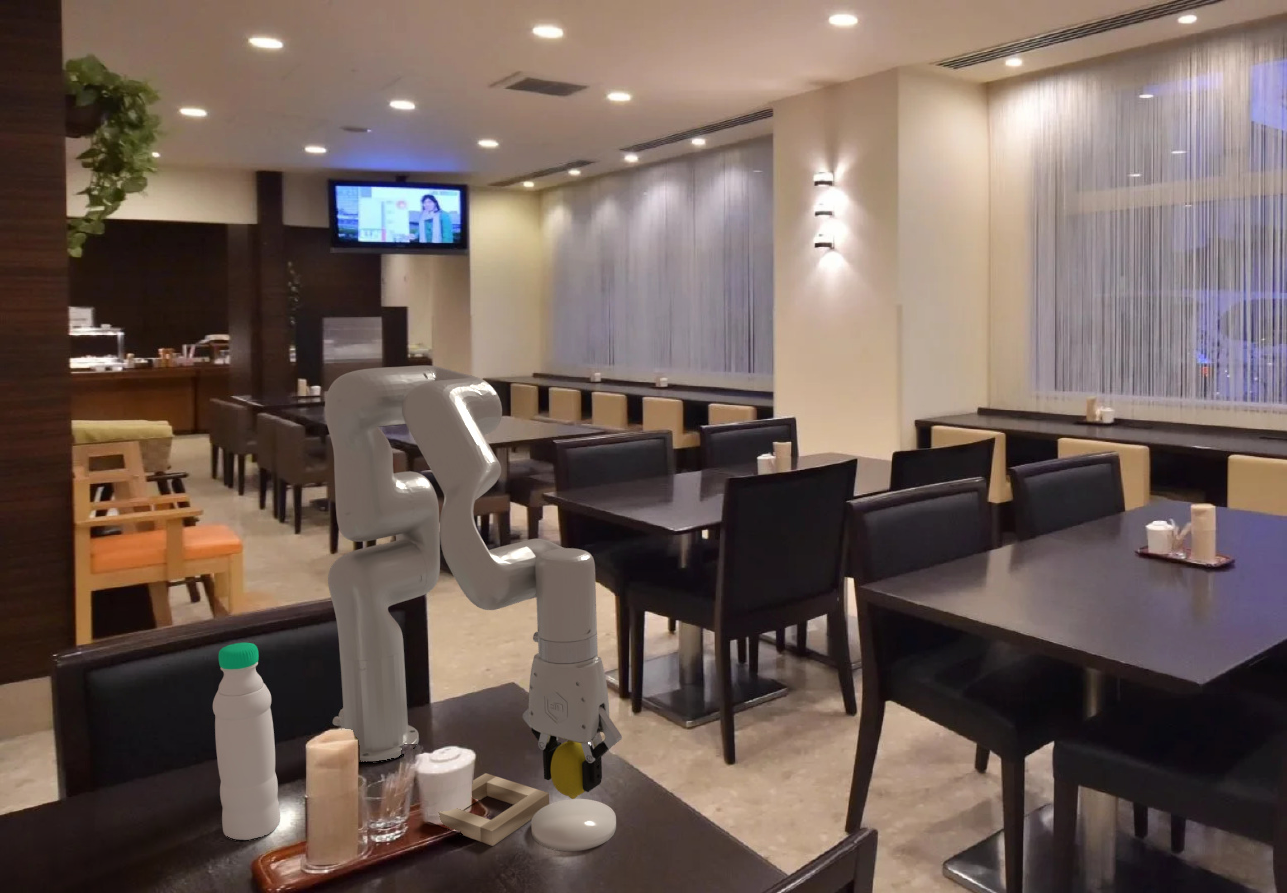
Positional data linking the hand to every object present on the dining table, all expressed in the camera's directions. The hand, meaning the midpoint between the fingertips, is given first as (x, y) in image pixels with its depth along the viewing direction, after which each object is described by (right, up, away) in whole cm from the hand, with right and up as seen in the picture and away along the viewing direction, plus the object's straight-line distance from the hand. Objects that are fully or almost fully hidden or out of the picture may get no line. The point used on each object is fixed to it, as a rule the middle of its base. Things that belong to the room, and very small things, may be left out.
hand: (572, 780), depth 126 cm
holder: (-12, -6, +5) cm, 14 cm away
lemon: (0, -3, 0) cm, 3 cm away
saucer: (0, -7, +1) cm, 7 cm away
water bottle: (-42, -8, +2) cm, 43 cm away
